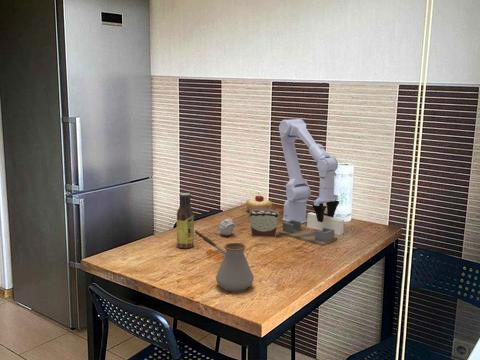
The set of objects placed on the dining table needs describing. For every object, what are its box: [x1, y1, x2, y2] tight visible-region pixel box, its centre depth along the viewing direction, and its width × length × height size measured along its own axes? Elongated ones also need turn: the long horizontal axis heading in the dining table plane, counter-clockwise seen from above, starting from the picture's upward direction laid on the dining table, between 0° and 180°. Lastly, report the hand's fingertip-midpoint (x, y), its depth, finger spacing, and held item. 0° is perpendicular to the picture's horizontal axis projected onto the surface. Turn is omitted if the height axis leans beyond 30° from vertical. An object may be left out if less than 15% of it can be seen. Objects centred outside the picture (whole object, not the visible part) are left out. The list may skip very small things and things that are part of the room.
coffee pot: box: [192, 230, 255, 293], centre depth 162 cm, size 21×12×15 cm, turn 56°
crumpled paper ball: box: [218, 218, 236, 236], centre depth 209 cm, size 6×7×7 cm
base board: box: [278, 228, 338, 246], centre depth 209 cm, size 21×10×1 cm, turn 48°
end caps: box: [282, 220, 335, 242], centre depth 209 cm, size 20×6×4 cm, turn 48°
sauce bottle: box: [176, 192, 195, 249], centre depth 195 cm, size 6×6×20 cm
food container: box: [247, 208, 281, 239], centre depth 210 cm, size 12×6×10 cm, turn 84°
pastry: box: [245, 192, 273, 213], centre depth 244 cm, size 12×12×9 cm
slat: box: [306, 212, 345, 236], centre depth 217 cm, size 16×2×6 cm, turn 47°
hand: (325, 219), depth 217 cm, fingers open, 7 cm apart
